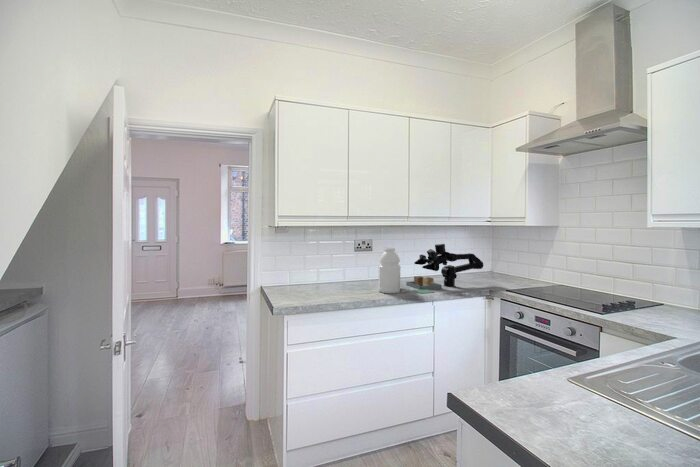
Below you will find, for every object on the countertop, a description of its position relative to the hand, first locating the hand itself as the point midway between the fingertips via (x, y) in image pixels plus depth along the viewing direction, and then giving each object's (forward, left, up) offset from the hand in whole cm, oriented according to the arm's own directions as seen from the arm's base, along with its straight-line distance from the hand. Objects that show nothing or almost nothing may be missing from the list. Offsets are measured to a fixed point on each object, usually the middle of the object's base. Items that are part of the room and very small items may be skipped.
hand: (418, 265), depth 223 cm
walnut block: (-6, -9, -15) cm, 19 cm away
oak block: (-6, +2, -15) cm, 17 cm away
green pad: (+3, +11, -16) cm, 20 cm away
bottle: (+22, +1, -16) cm, 27 cm away
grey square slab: (-6, -3, -16) cm, 17 cm away
